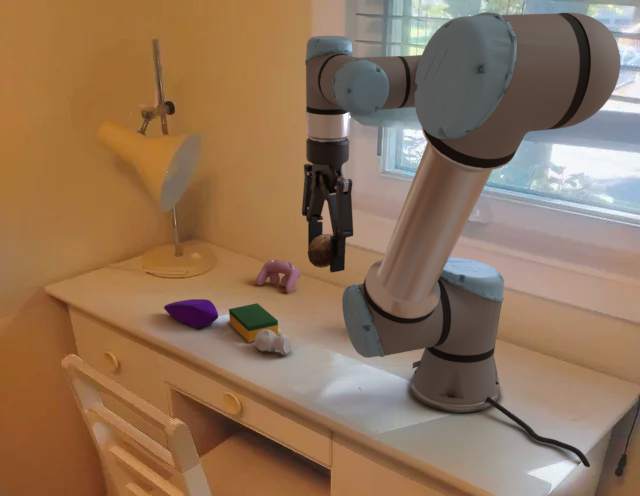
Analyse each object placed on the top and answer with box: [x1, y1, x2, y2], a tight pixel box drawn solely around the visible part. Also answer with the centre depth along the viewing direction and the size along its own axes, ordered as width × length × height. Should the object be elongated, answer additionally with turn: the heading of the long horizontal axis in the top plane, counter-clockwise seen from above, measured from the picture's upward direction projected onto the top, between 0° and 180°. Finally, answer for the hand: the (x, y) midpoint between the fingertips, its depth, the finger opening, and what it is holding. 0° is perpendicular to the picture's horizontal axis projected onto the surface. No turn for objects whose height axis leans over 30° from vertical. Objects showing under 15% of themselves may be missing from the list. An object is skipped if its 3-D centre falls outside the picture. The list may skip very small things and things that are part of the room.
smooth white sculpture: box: [254, 329, 292, 356], centre depth 138 cm, size 4×8×5 cm
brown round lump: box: [307, 233, 333, 269], centre depth 135 cm, size 8×8×6 cm
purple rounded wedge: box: [163, 298, 219, 329], centre depth 149 cm, size 5×5×15 cm
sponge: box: [228, 302, 279, 343], centre depth 146 cm, size 10×6×3 cm, turn 29°
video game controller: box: [255, 259, 301, 294], centre depth 166 cm, size 10×5×7 cm, turn 58°
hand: (325, 262), depth 136 cm, fingers closed on brown round lump, 8 cm apart
